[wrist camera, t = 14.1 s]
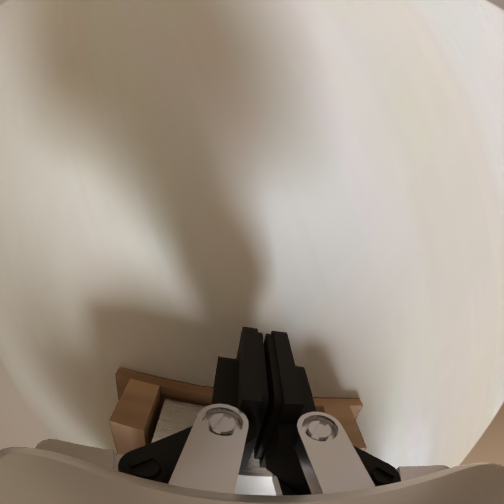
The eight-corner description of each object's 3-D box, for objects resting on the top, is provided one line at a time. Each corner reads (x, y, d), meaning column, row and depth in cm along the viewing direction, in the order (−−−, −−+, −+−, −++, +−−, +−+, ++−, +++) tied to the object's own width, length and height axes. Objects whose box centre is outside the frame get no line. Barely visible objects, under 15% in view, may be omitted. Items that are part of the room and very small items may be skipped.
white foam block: (288, 466, 14) (295, 516, 10) (166, 452, 13) (154, 503, 10) (314, 416, 12) (329, 475, 9) (165, 398, 12) (146, 459, 8)
